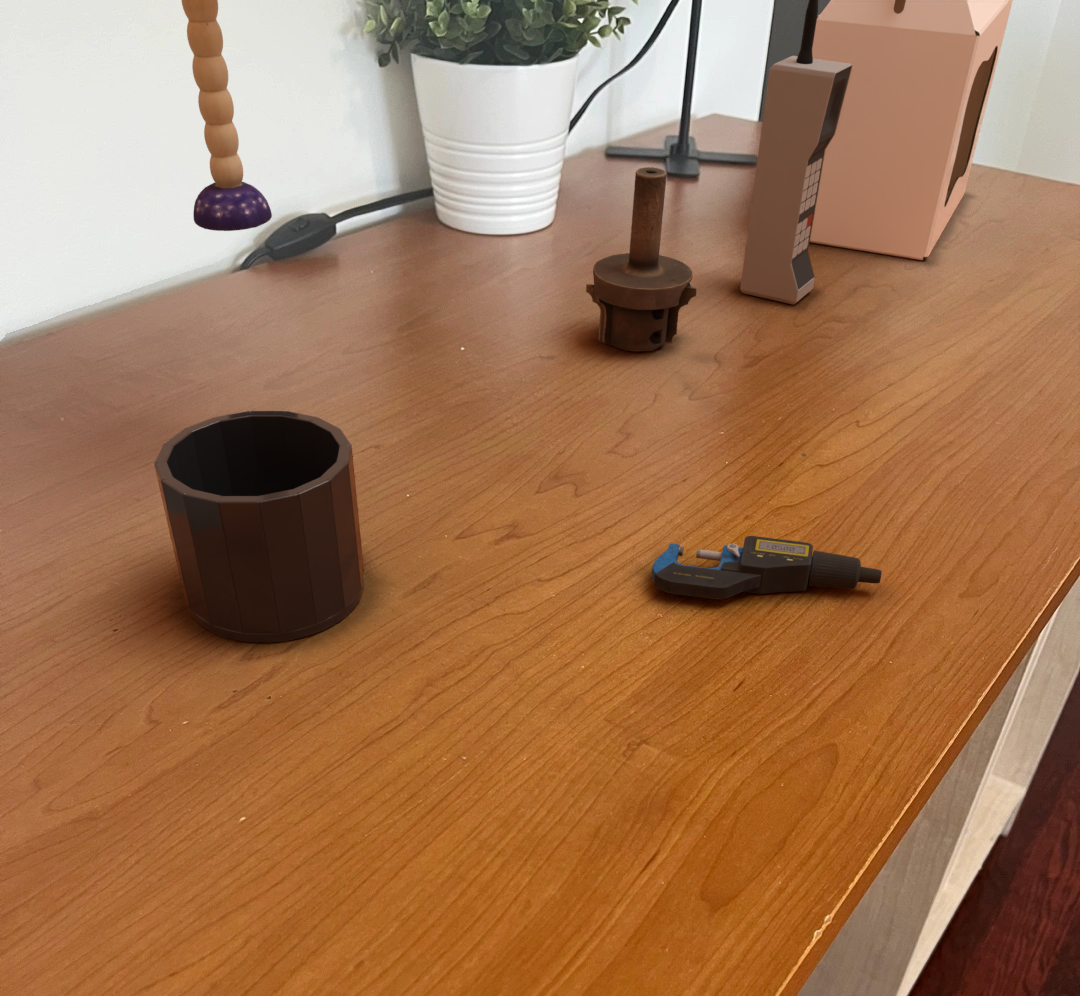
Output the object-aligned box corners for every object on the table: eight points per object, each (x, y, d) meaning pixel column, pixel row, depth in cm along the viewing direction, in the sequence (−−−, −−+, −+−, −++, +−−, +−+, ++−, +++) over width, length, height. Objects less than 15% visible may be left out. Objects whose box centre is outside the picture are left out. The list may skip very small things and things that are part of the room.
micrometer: (649, 569, 59) (663, 521, 62) (646, 599, 60) (661, 550, 64) (883, 600, 57) (884, 548, 60) (875, 631, 58) (877, 578, 62)
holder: (150, 618, 58) (115, 479, 52) (246, 530, 64) (223, 398, 59) (310, 660, 55) (289, 518, 50) (393, 564, 62) (382, 429, 57)
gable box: (925, 262, 99) (1020, -135, 81) (779, 239, 103) (838, -145, 85) (964, 194, 115) (1051, -153, 96) (836, 176, 119) (896, -161, 100)
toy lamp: (173, 216, 63) (104, -164, 52) (243, 198, 65) (192, -167, 54) (222, 238, 60) (161, -156, 49) (293, 219, 63) (250, -159, 52)
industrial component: (573, 351, 84) (580, 178, 76) (600, 316, 89) (609, 151, 81) (697, 371, 82) (718, 195, 74) (718, 333, 87) (739, 165, 79)
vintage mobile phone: (795, 306, 91) (858, -69, 75) (739, 293, 93) (788, -76, 77) (812, 292, 94) (877, -75, 77) (757, 279, 96) (808, -81, 79)
